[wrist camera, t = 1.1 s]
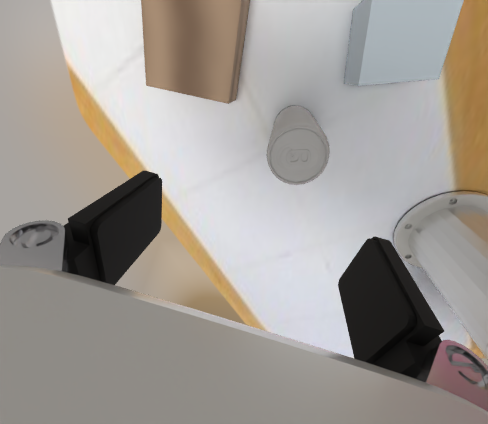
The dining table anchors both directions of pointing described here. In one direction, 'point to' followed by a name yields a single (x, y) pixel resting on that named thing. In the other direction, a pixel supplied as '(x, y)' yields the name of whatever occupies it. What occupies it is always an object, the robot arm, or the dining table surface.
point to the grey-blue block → (399, 40)
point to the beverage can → (297, 147)
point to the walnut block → (195, 46)
